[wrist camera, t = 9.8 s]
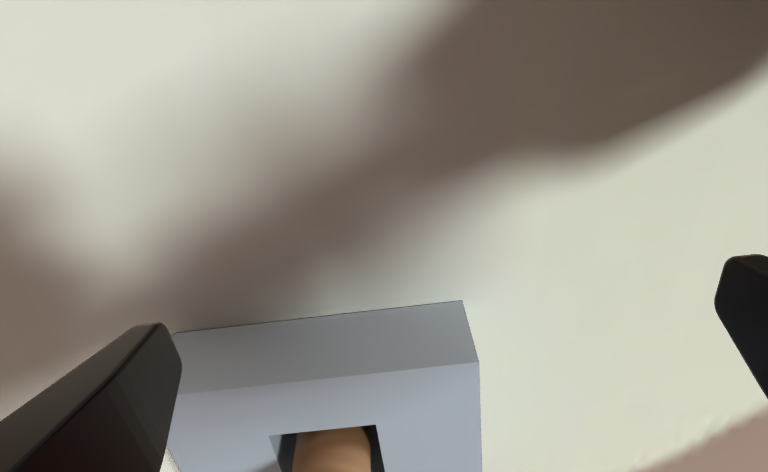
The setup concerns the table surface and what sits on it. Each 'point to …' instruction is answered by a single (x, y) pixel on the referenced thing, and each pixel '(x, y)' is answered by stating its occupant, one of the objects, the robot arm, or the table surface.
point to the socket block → (331, 390)
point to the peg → (333, 450)
